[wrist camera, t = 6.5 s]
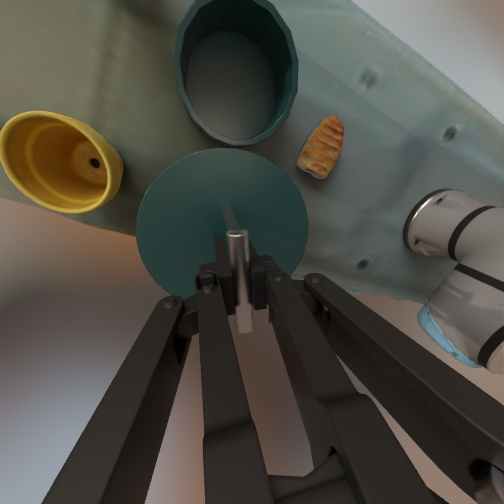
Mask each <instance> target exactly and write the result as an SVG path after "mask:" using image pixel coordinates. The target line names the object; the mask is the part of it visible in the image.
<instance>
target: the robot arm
mask: <svg viewBox="0 0 504 504" xmlns="http://www.w3.org/2000/svg"><path fill="white" fill-rule="evenodd" d="M213 237H214V246H215V254H216V262H212V263H205V264H202V265H201V266H200V267H199V273H198V274H196V275H195V277H194V281H195V286H196V291H197V292H196V293H195V294H194V295H193V296H191V297H189V298H186V299H183V298H182V297H180V296H178V295H172V296H168V297H165V298H163V299H162V300H160V301H159V302H158V304H157V305H156V307H155V308H154V310H153V312H152V314H151V315H150V317H149V319H148V320H147V322H146V324H145V326H144V327H143V329H142V331H141V332H140V334H139V336H138V338H137V339H136V341H135V343H134V345H133V346H132V348H131V350H130V351H129V353H128V355H127V357H126V359H125V360H124V362H123V364H122V365H121V367H120V369H119V370H118V372H117V374H116V376H115V378H114V379H113V381H112V383H111V385H110V386H109V388H108V389H107V391H106V393H105V395H104V397H103V398H102V400H101V402H100V403H99V405H98V407H97V409H96V410H95V412H94V414H93V415H92V417H91V419H90V421H89V422H88V424H87V426H86V428H85V429H84V431H83V433H82V434H81V436H80V438H79V439H78V441H77V443H76V445H75V447H74V448H73V450H72V452H71V453H70V455H69V457H68V459H67V460H66V462H65V464H64V465H63V467H62V469H61V471H60V472H59V474H58V476H57V477H56V479H55V481H54V483H53V485H52V486H51V488H50V490H49V492H48V493H47V495H46V496H45V498H44V500H43V502H42V504H144V503H145V500H146V496H147V493H148V489H149V486H150V482H151V479H152V475H153V472H154V468H155V465H156V462H157V458H158V454H159V451H160V447H161V444H162V440H163V437H164V434H165V430H166V427H167V423H168V420H169V416H170V413H171V409H172V406H173V402H174V398H175V395H176V392H177V388H178V384H179V381H180V378H181V374H182V371H183V367H184V364H185V360H186V357H187V353H188V350H189V347H190V343H191V339H192V336H193V335H195V334H198V333H199V344H200V361H201V379H202V396H203V414H204V438H203V462H204V484H205V504H449V503H448V502H446V501H445V500H444V499H443V498H441V497H440V496H438V495H437V494H436V493H435V492H433V491H432V490H431V489H429V488H428V487H427V486H426V485H425V483H424V481H423V480H422V478H421V477H420V475H419V474H418V472H417V470H416V469H415V467H414V465H413V464H412V462H411V461H410V459H409V457H408V456H407V454H406V453H405V451H404V449H403V448H402V446H401V445H400V443H399V441H398V440H397V438H396V437H395V435H394V433H393V432H392V430H391V429H390V427H389V425H388V424H387V422H386V421H385V419H384V417H383V416H382V414H381V413H380V411H379V410H378V408H377V407H376V405H375V403H374V402H373V401H372V399H371V398H370V397H368V396H367V395H366V394H360V393H359V392H358V391H357V390H356V389H355V387H354V385H353V384H352V382H351V380H350V379H349V377H348V375H347V373H346V372H345V370H344V368H343V366H342V365H341V363H340V361H339V360H338V358H337V356H338V357H339V358H340V359H341V360H342V361H343V362H344V363H345V364H346V366H347V367H348V368H349V369H350V370H351V371H352V372H353V373H354V375H355V376H356V377H357V378H358V379H359V380H360V381H361V382H362V384H363V385H364V386H365V387H366V388H367V389H368V390H369V391H370V392H371V394H372V395H373V396H374V397H375V398H376V399H377V400H378V401H379V403H380V404H381V405H382V406H383V407H384V408H385V409H386V410H387V411H388V413H389V414H390V415H391V416H392V417H393V418H394V419H395V420H396V421H397V423H398V424H399V425H400V426H401V427H402V428H403V429H404V431H405V432H406V433H407V434H408V435H409V436H410V437H411V438H412V439H413V441H414V442H415V443H416V444H417V445H418V446H419V447H420V448H421V449H422V451H423V452H424V453H425V454H426V455H427V456H428V457H429V458H430V459H431V460H432V461H433V462H434V463H435V464H436V465H437V467H438V468H439V469H440V470H441V471H442V472H443V473H445V474H446V475H447V476H448V477H449V478H450V479H451V480H452V481H453V482H454V483H455V484H456V485H457V486H458V487H459V488H460V489H462V490H463V491H464V492H465V493H466V494H468V495H469V496H470V497H471V498H472V499H474V500H475V501H476V502H477V503H478V504H504V406H503V405H502V404H501V403H499V402H498V401H497V400H495V399H494V398H492V397H491V396H490V395H488V394H487V393H485V392H484V391H483V390H481V389H480V388H479V387H477V386H476V385H475V384H473V383H472V382H470V381H469V380H467V379H466V378H465V377H463V376H462V375H461V374H459V373H458V372H457V371H455V370H454V369H453V368H451V367H450V366H448V365H447V364H445V363H444V362H443V361H441V360H440V359H439V358H437V357H436V356H435V355H433V354H432V353H430V352H429V351H428V350H426V349H425V348H423V347H422V346H421V345H419V344H418V343H416V342H415V341H414V340H412V339H411V338H410V337H408V336H407V335H405V334H404V333H403V332H401V331H400V330H399V329H397V328H396V327H395V326H393V325H392V324H390V323H389V322H388V321H386V320H385V319H383V318H382V317H381V316H379V315H378V314H377V313H375V312H374V311H372V310H371V309H370V308H368V307H367V306H365V305H364V304H363V303H361V302H360V301H358V300H357V299H356V298H355V297H353V296H352V295H350V294H349V293H348V292H346V291H345V290H344V289H342V288H341V287H339V286H338V285H337V284H335V283H334V282H332V281H331V280H330V279H328V278H327V277H326V276H324V275H322V274H318V273H310V274H307V275H306V276H305V277H304V280H293V279H291V277H290V276H289V275H288V274H286V273H283V272H282V271H281V270H280V268H279V267H278V265H277V264H276V262H275V261H274V259H273V258H272V257H271V256H269V255H261V256H258V255H257V253H256V251H255V249H254V247H253V245H252V243H251V241H250V240H249V251H250V270H251V289H252V304H253V307H254V310H261V309H266V308H267V306H266V305H267V304H268V306H269V323H271V322H272V325H273V329H274V332H275V335H276V338H277V341H278V344H279V347H280V351H281V354H282V357H283V360H284V364H285V366H286V370H287V373H288V376H289V379H290V383H291V386H292V389H293V392H294V395H295V398H296V402H297V405H298V408H299V411H300V414H301V418H302V421H303V424H304V427H305V430H306V433H307V437H308V440H309V443H310V448H311V455H312V461H313V466H314V470H313V471H312V472H310V473H309V474H308V475H306V476H304V477H297V476H279V475H267V471H266V467H265V463H264V459H263V455H262V451H261V447H260V443H259V438H258V434H257V431H256V427H255V424H254V421H253V420H252V417H251V413H250V409H249V405H248V401H247V396H246V392H245V388H244V384H243V380H242V375H241V371H240V367H239V363H238V359H237V354H236V351H235V346H234V342H233V338H232V333H231V329H230V325H229V321H228V317H227V315H233V314H236V309H235V299H234V289H233V279H232V273H231V269H230V264H229V260H228V256H227V252H226V247H225V243H224V239H223V235H214V236H213ZM403 237H404V242H405V244H406V246H407V247H408V248H409V249H410V250H412V251H414V252H416V253H418V254H422V255H426V256H436V257H444V258H450V259H453V260H455V261H458V262H459V263H458V264H457V266H456V267H455V268H454V269H453V270H452V272H451V273H450V274H449V275H448V276H447V277H446V279H445V280H444V281H443V282H442V283H441V285H440V286H439V287H438V288H437V289H436V290H435V292H434V293H433V294H432V295H431V296H430V297H429V298H428V299H427V300H426V301H425V304H424V306H423V307H422V308H421V310H420V311H419V312H418V316H417V317H418V322H419V324H420V326H421V327H422V329H423V330H424V331H425V333H426V334H427V335H428V336H429V337H430V338H431V339H432V340H433V341H434V342H435V343H436V344H437V345H439V346H440V347H441V348H442V349H443V350H444V351H446V352H447V353H450V354H451V355H452V356H453V357H454V358H456V359H457V360H458V361H460V362H462V363H463V364H465V365H467V366H470V367H474V368H479V367H485V368H486V369H487V370H488V371H490V372H491V373H493V374H500V375H504V208H500V207H494V206H489V205H486V204H484V203H482V202H480V201H479V200H477V199H475V198H473V197H471V196H469V195H467V194H466V193H464V192H462V191H459V190H452V189H441V190H437V191H435V192H433V193H431V194H429V195H428V196H426V197H425V198H424V199H422V200H421V201H420V202H419V203H418V204H417V205H416V206H415V208H414V209H413V210H412V212H411V213H410V215H409V217H408V219H407V221H406V224H405V227H404V233H403ZM474 278H475V279H474ZM485 283H486V284H485ZM498 289H499V290H498ZM324 307H326V308H327V309H328V310H326V309H325V308H324ZM334 352H335V353H336V354H337V356H336V354H335V353H334Z"/></svg>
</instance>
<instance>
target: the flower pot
mask: <svg viewBox="0 0 504 504" xmlns="http://www.w3.org/2000/svg"><path fill="white" fill-rule="evenodd" d="M93 158H95V159H97V160H98V161H99V162H100V166H99V167H98V168H96V167H94V166H93V165H92V163H91V160H92V159H93ZM0 160H1V163H2V165H3V168H4V170H5V172H6V173H7V175H8V177H9V178H10V180H11V181H12V182H13V183H14V185H15V186H16V187H17V188H18V189H19V190H20V191H21V192H22V193H24V194H25V195H26V196H27V197H28V198H30V199H31V200H33V201H34V202H36V203H38V204H40V205H41V206H43V207H46V208H48V209H51V210H54V211H57V212H61V213H68V214H81V213H86V212H90V211H93V210H95V209H97V208H99V207H101V206H103V205H104V204H106V203H107V202H109V201H110V200H111V199H112V198H113V197H114V196H115V195H116V193H117V192H118V190H119V187H120V184H121V178H122V176H123V172H124V166H123V161H122V159H121V157H120V155H119V153H118V152H117V151H116V150H115V149H114V148H113V147H112V146H111V145H110V144H108V142H107V141H106V140H105V139H104V138H103V137H102V136H101V135H100V134H99V133H98V132H96V131H95V130H94V129H92V128H91V127H89V126H88V125H86V124H84V123H82V122H80V121H78V120H75V119H73V118H70V117H67V116H63V115H60V114H56V113H51V112H45V111H30V112H25V113H22V114H19V115H17V116H15V117H13V118H12V119H10V120H9V121H8V122H7V123H6V124H5V126H4V127H3V129H2V131H1V133H0Z"/></svg>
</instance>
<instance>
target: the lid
mask: <svg viewBox="0 0 504 504" xmlns="http://www.w3.org/2000/svg"><path fill="white" fill-rule="evenodd" d="M214 235H223V239H224V243H225V247H226V252H227V256H228V260H229V264H230V269H231V273H232V279H233V289H234V299H235V309H236V314H235V321H236V329H237V331H238V332H240V333H242V334H246V333H249V332H251V331H252V330H253V327H254V325H253V307H252V289H251V270H250V251H249V240H250V241H251V243H252V245H253V247H254V249H255V251H256V253H257V255H258V256H261V255H269V256H271V257H272V258H273V259H274V261H275V262H276V264H277V265H278V267H279V268H280V270H281V271H282V272H283V273H286V274H288V275H289V276H291V275H292V273H293V272H294V271H295V269H296V267H297V266H298V264H299V262H300V260H301V258H302V255H303V253H304V250H305V246H306V242H307V235H308V219H307V212H306V208H305V204H304V201H303V199H302V196H301V194H300V192H299V190H298V189H297V187H296V185H295V183H294V182H293V181H292V180H291V178H290V177H289V176H288V175H287V174H286V173H285V172H284V171H283V170H282V169H281V168H280V167H279V166H277V165H276V164H274V163H273V162H271V161H270V160H268V159H266V158H264V157H262V156H260V155H258V154H255V153H252V152H249V151H246V150H240V149H235V148H215V149H206V150H203V151H199V152H195V153H192V154H190V155H188V156H185V157H183V158H181V159H179V160H178V161H176V162H175V163H173V164H171V165H170V166H169V167H167V168H166V169H165V170H164V171H163V172H162V173H160V174H159V176H158V177H157V178H156V179H155V180H154V181H153V183H152V184H151V185H150V187H149V188H148V190H147V192H146V193H145V195H144V197H143V200H142V202H141V205H140V207H139V211H138V216H137V222H136V239H137V245H138V250H139V253H140V256H141V259H142V261H143V263H144V265H145V267H146V269H147V271H148V272H149V274H150V275H151V276H152V277H153V279H154V280H155V281H156V282H157V283H158V284H159V285H160V286H161V287H162V288H163V289H164V290H165V291H167V292H168V293H169V294H170V295H178V296H180V297H182V298H183V299H186V298H189V297H191V296H193V295H194V294H195V293H196V292H197V291H196V286H195V281H194V277H195V275H196V274H198V273H199V267H200V266H201V265H202V264H205V263H212V262H216V254H215V246H214V237H213V236H214Z"/></svg>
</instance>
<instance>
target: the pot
mask: <svg viewBox="0 0 504 504" xmlns="http://www.w3.org/2000/svg"><path fill="white" fill-rule="evenodd" d="M173 62H174V68H175V74H176V80H177V86H178V91H179V94H180V97H181V99H182V101H183V104H184V106H185V108H186V110H187V112H188V114H189V116H190V118H191V120H192V122H193V124H194V125H195V126H196V127H197V128H198V129H199V130H200V131H201V132H202V133H203V134H204V135H205V136H206V137H207V138H208V139H209V140H211V141H213V142H216V143H218V144H221V145H223V146H226V147H242V146H250V145H255V144H257V143H259V142H261V141H263V140H264V139H266V138H268V137H270V136H272V135H273V134H274V133H275V132H276V131H277V130H278V128H279V127H280V126H281V125H282V123H283V122H284V121H285V120H286V119H287V117H288V116H289V113H290V110H291V108H292V105H293V102H294V99H295V96H296V93H297V87H298V57H297V54H296V50H295V46H294V42H293V38H292V35H291V31H290V29H289V28H288V26H287V25H286V23H285V22H284V20H283V19H282V17H281V16H280V14H279V13H278V11H277V10H276V8H275V7H274V5H273V4H272V3H270V2H269V1H267V0H195V1H194V2H193V4H192V6H191V7H190V9H189V10H188V12H187V13H186V15H185V17H184V18H183V20H182V21H181V23H180V25H179V27H178V33H177V39H176V45H175V51H174V57H173Z"/></svg>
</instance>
